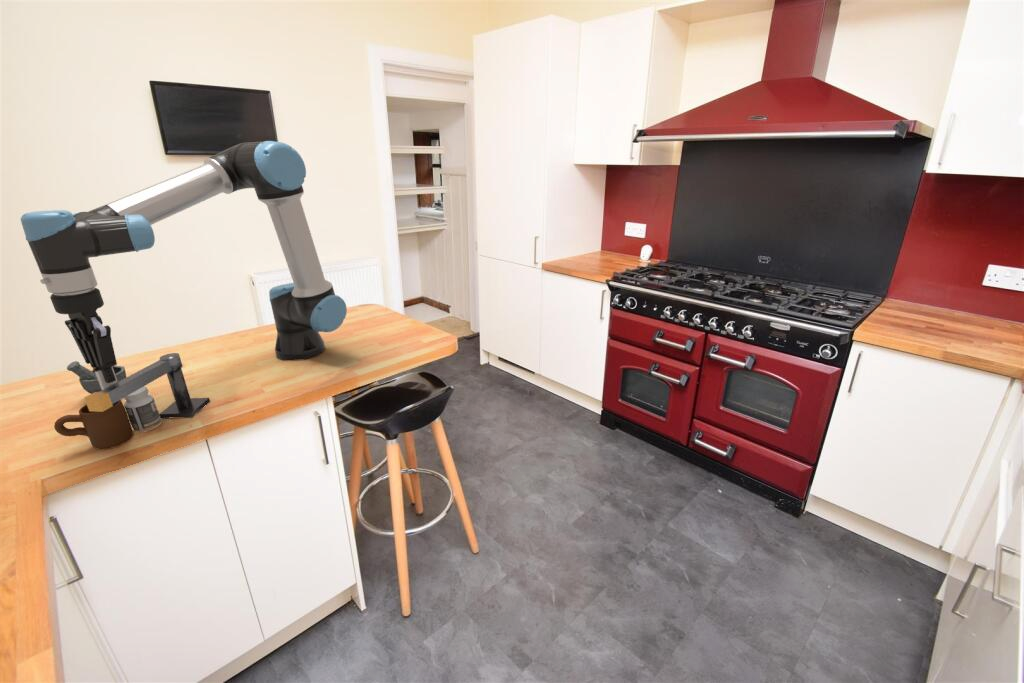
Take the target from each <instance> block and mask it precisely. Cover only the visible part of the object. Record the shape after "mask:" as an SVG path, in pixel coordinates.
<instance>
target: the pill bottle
mask: <svg viewBox="0 0 1024 683" xmlns="http://www.w3.org/2000/svg"><path fill="white" fill-rule="evenodd" d="M149 392H150V391H149V388H148V387H147V386H146V385H145V386H143V387H142V388H140V389H138V390H136V391H135V392H133V393H131V394H129V395H128V396H126V397H124V398H123V399H124V400H125V401H124V403H123V405H124V408H125V410H126V413H127V416H128V418H129V421H130V424H131V427H132V430H133V432H136V433H145V432H149V431H151V430H154V429H156V428H159V426H160V425H161V424H162V418H160V415H159V414H160V412H159V410H158V407H157V405H156V404H157V403H156V401H155V398H154V397H153V395H151V394H149Z"/></svg>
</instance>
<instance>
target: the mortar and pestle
mask: <svg viewBox="0 0 1024 683" xmlns="http://www.w3.org/2000/svg"><path fill="white" fill-rule="evenodd" d="M112 367H113V370H114V372H115V375H116V378H117V381H118V382H119V381H121V380H123V379H124V378H126V377H127V373H126V369H125V366H122V365H115V366H112ZM66 370H67V371H68V372H72V373H73V374H75V375H76V376H77V377H79V378H78V379H79V383H80V385H81V387H82V389H83V390H84V391H85V392H87V393H88V394H92V393H94V392H100V391H102V389H101V387H100V384H99V381H98V379H97V376H96V374H95V371H94V370H93V369H92V370H90V369H89V368H87V367H85V366H84V365H82V364H80V362H79V361H77V360H76V361H72V362H70V363H69V364H68V365H67V366H66Z"/></svg>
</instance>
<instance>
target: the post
mask: <svg viewBox="0 0 1024 683" xmlns="http://www.w3.org/2000/svg"><path fill="white" fill-rule="evenodd" d="M165 375H166V377H167V380H168V383H169V387H170V389H171V391H172V396H173V399H174V401H173V402H172V403H170V405H168V406H167V407H166V408H165V409H163V410H162V411H161V412H159V415H160V418H161V419H170V418H169V417H184V418H194V417H195V416H196V415H197V414H198V413H200V411H202V410H203V409H202V408H203V407H204V406H205V405H206V406H207V405H209V403H211V399H210V397H193V398H192V397H191V395H190V392H189V389H188V386H187V382H186V379H185V375H184V373H183V370H182V368H180V369H178V370H175V371H170V372H168V373H166V374H165ZM206 406H205V407H206ZM205 407H204V408H205ZM201 409H202V410H201ZM196 413H197V414H196ZM195 414H196V415H195ZM194 415H195V416H194ZM193 416H194V417H193Z"/></svg>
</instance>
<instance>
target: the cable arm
mask: <svg viewBox="0 0 1024 683" xmlns="http://www.w3.org/2000/svg"><path fill="white" fill-rule="evenodd" d="M180 368H181V369H182V368H183V363H182V359H181V356H180V353H178V352H172V353H167V354H164V355H161V356H160V357H159V360H157V361H155V362H153V363H151V364H150V365H148V366H145V367H144V368H142V369H140V370H137V371H136V372H134V373H132V374H130V375H129V376H126V378H124V379H123V380H121V381H119V382H117V383H115V384H113V385H111V386H109V387H107V388H105V389H103V390H102V391H100V392H94V393H92V394H91V393H89V394H88V395H87V396H84V397H83V398H84V402H85V405H86V404H87V407H88V409H89V411H96V412H103V411H105V410H107V409H109V408H110V407H112V406H113V405H112V404H114V403H115V402H117V401H119V400H121V401H122V399H124V397H126V396H128V395H129V394H131V393H133V392H135V391H136V390H138V389H140V388H142V387H143V386H145V387H146V386H147V385H149V384H150V383H152V382H154V381H155V380H157V379H159V378H161V377H162V376H165V375H167V374H166V373H168V372H170V371H175V370H178V369H180Z"/></svg>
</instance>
